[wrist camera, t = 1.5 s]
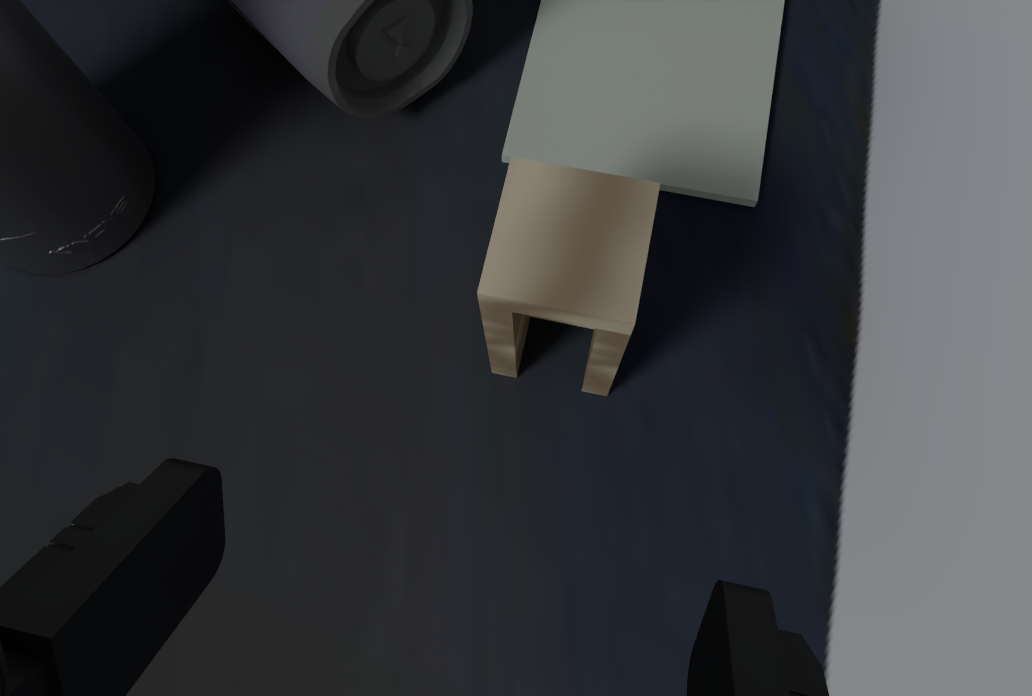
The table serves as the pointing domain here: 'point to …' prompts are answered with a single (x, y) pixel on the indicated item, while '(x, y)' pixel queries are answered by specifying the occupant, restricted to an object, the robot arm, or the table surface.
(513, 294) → the birch stool
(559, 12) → the sage mat
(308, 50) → the bluetooth speaker
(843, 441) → the table surface
